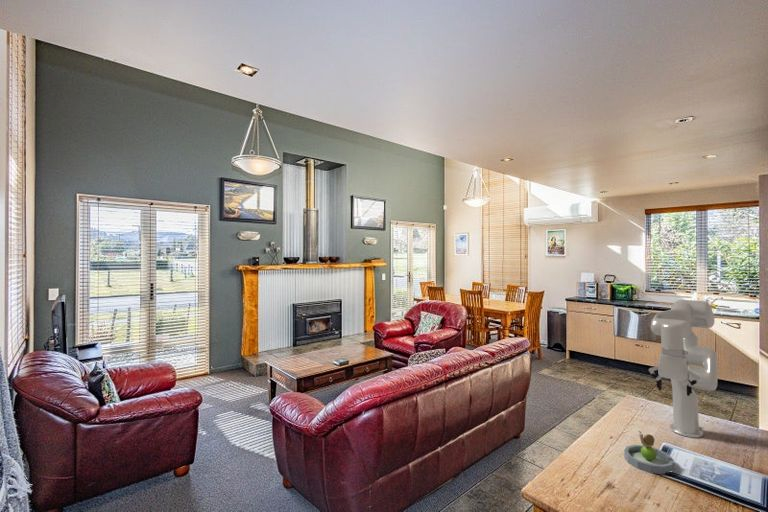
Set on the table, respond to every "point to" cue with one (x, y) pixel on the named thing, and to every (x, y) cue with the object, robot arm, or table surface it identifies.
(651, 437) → the snail figurine
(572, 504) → the table surface
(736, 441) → the table surface
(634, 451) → the ring dish
